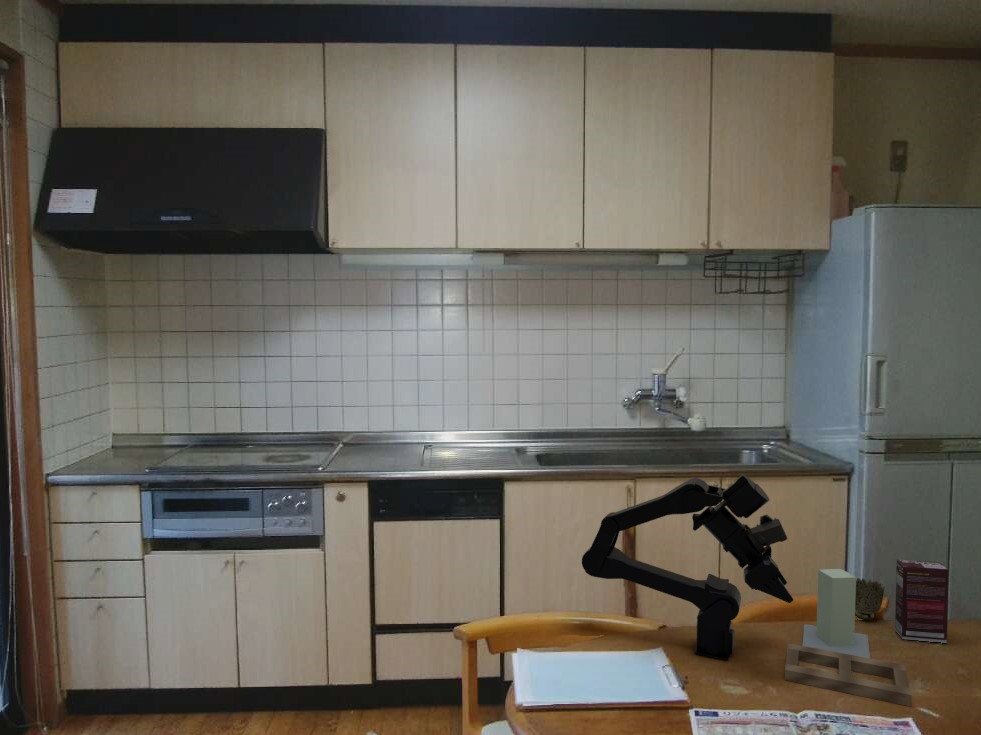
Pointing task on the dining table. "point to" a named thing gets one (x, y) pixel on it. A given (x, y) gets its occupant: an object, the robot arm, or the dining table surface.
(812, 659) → the puzzle board
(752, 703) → the dining table surface
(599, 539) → the robot arm
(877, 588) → the dark olive textured piece
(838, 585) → the sage block
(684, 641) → the dining table surface
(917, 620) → the supplement box
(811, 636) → the grey mat
